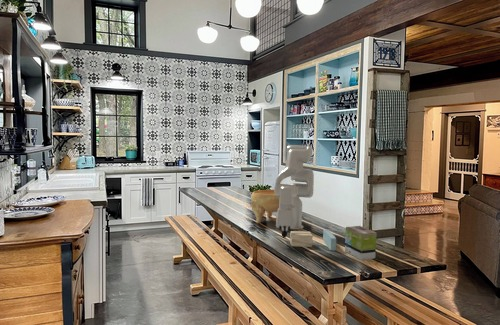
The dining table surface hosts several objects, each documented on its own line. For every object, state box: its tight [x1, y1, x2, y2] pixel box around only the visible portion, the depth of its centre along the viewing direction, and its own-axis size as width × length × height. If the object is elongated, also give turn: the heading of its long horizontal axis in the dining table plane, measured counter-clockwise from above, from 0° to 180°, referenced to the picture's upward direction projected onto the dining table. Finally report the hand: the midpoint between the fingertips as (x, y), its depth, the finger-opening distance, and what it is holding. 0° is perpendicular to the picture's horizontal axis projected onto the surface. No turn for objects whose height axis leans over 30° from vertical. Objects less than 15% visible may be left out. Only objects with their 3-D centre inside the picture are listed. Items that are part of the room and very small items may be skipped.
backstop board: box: [322, 229, 337, 251], centre depth 221 cm, size 20×3×7 cm, turn 1°
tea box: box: [344, 225, 378, 261], centre depth 204 cm, size 15×10×15 cm, turn 21°
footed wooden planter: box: [250, 189, 280, 224], centre depth 280 cm, size 34×35×23 cm
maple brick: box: [289, 230, 313, 248], centre depth 221 cm, size 8×12×7 cm, turn 91°
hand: (284, 237), depth 220 cm, fingers closed
